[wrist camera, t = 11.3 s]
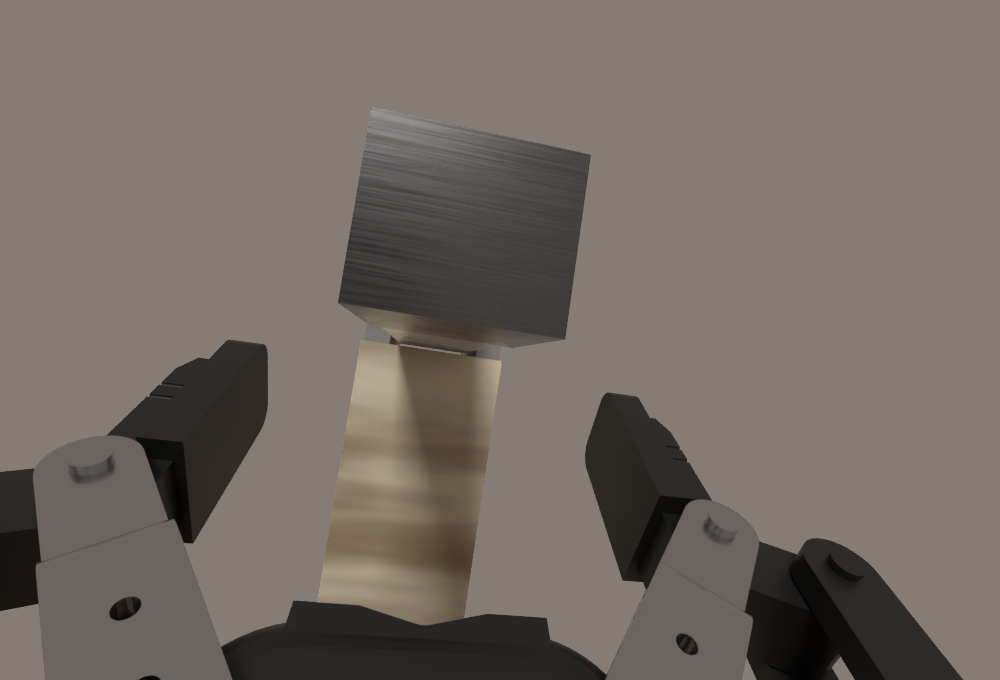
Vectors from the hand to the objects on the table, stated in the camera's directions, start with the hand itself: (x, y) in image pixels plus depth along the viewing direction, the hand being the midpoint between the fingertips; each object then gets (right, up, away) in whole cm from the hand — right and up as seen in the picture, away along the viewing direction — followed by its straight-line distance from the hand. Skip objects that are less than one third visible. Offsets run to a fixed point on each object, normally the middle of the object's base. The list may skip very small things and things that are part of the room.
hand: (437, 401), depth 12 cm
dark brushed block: (-1, +1, +6) cm, 6 cm away
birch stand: (-7, -29, +16) cm, 34 cm away
